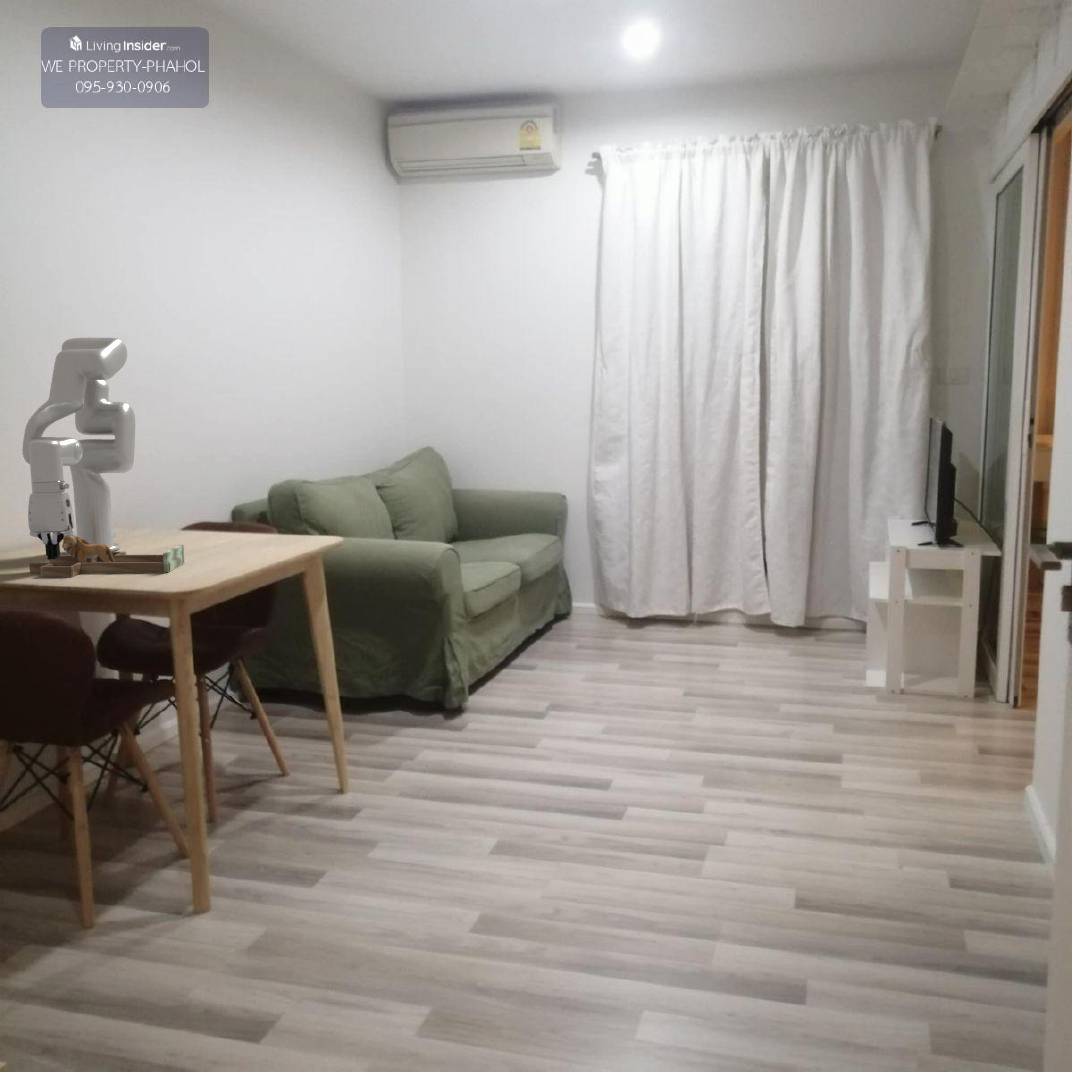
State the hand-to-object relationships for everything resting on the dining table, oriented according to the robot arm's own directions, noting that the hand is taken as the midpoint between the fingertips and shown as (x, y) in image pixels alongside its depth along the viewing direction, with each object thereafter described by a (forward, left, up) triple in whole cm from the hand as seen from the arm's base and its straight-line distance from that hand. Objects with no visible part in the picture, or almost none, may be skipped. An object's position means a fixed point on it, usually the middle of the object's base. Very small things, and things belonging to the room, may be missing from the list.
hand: (53, 558), depth 268 cm
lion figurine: (+1, +10, -3) cm, 10 cm away
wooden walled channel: (0, +14, -3) cm, 14 cm away
